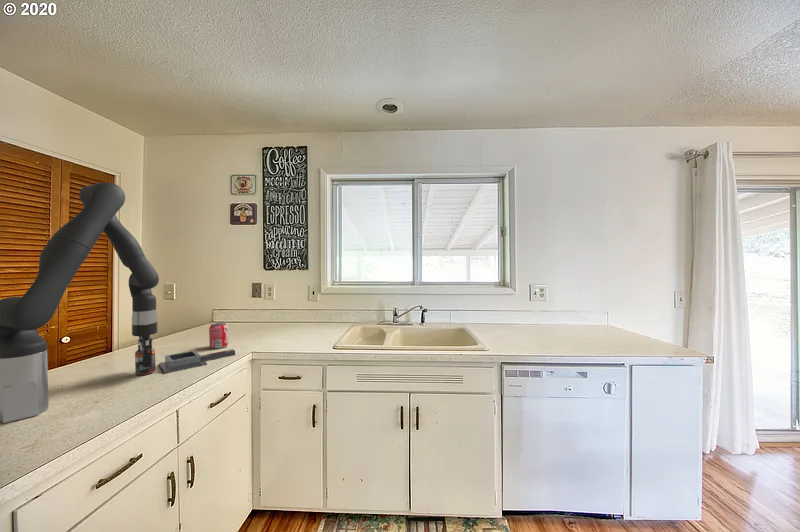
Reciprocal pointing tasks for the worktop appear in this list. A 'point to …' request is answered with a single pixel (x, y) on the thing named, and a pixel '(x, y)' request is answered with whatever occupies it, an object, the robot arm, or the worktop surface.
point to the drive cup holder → (190, 360)
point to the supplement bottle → (139, 363)
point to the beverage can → (218, 335)
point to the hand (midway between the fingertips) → (145, 363)
